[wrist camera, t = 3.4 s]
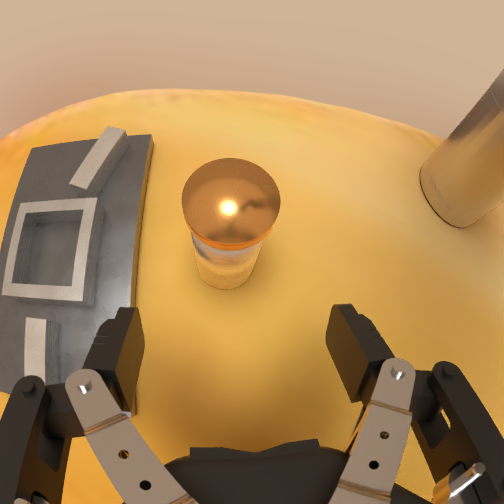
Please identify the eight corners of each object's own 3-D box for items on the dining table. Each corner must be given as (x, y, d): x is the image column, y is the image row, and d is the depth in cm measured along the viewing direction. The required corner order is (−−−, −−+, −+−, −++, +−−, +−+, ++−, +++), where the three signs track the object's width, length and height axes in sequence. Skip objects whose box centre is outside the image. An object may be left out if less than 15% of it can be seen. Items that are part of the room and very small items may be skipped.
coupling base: (37, 156, 25) (24, 136, 22) (153, 144, 27) (148, 120, 24) (-1, 387, 17) (-24, 387, 14) (136, 414, 19) (122, 422, 16)
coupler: (240, 226, 25) (254, 148, 16) (265, 277, 24) (297, 221, 14) (185, 247, 24) (169, 175, 15) (209, 301, 23) (203, 259, 13)
